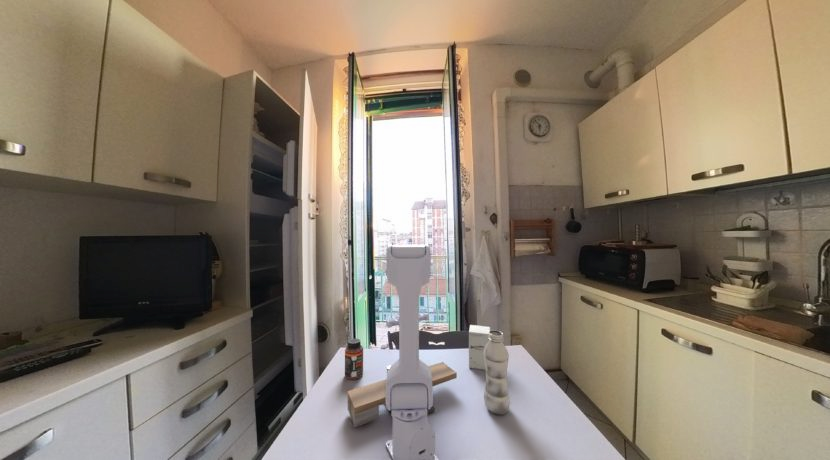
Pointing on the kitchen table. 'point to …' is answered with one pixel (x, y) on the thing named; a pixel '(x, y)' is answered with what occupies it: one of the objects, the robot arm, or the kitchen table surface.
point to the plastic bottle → (496, 374)
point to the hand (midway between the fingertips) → (408, 345)
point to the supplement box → (477, 346)
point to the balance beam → (373, 395)
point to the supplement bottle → (354, 359)
